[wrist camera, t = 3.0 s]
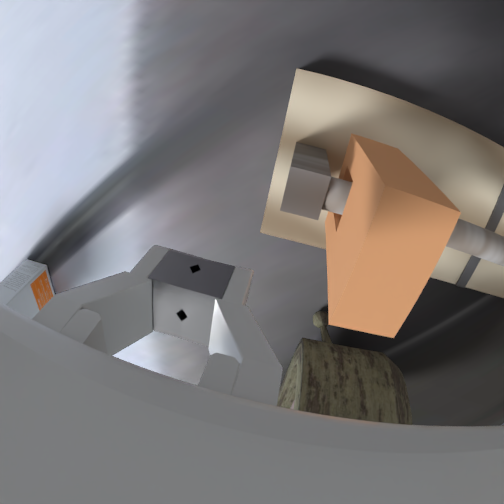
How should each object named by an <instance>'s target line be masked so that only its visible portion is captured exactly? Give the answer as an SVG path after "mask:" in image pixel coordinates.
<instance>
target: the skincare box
mask: <svg viewBox="0 0 504 504" xmlns="http://www.w3.org/2000/svg"><path fill="white" fill-rule="evenodd" d="M54 295H55V293H54V289H53V286H52V283H51V279H50V275H49V272H48V268H47V265H45V264H42V263H38V262H35V261H32V260H28V259H26V260H25V261H24V262H22V263H21V264H20V265H19V266H18V267H17V268H16V269H15V270H14V271H12V272H11V273H10V274H9V275H8V276H7V277H6V278H5V279H4V280H3V281H2V282H1V283H0V302H1V303H3V304H5V305H6V306H8V307H10V308H12V309H14V310H15V311H17V312H19V313H21V314H23V315H25V316H27V317H28V318H30V319H32V318H33V317H34V316H35V315H36V314H37V313H38V312H39V311H40V310H41V309H42V308H43V307H44V306H45V305H46V303H47V302H48V301H49V300H50V299H51V298H52V297H53V296H54Z"/></svg>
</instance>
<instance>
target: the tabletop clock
mask: <svg viewBox="0 0 504 504" xmlns="http://www.w3.org/2000/svg"><path fill="white" fill-rule="evenodd" d="M313 324H314V325H315V326H317V327H318V328H321V335H322V342H321V341H316V340H311V339H306V338H302V339H301V341H300V342H299V344H298V346H297V348H296V351H295V353H294V355H293V357H292V360H291V362H290V364H289V367H288V369H287V371H286V374H285V376H284V379H283V382H282V384H281V387H280V389H279V395H278V401H277V406H279V407H284V408H288V409H294V410H299V411H304V412H310V413H315V414H321V415H328V416H334V417H341V418H348V419H356V420H364V421H373V422H382V423H393V424H406V425H412V416H411V409H410V404H409V399H408V394H407V389H406V384H405V380H404V377H403V375H402V372H401V371H400V369H399V367H398V366H397V365H396V364H395V363H393V362H392V361H391V360H390V359H389V358H388V357H387V356H386V355H385V354H384V353H382V352H376V351H370V350H364V349H358V348H353V347H347V346H342V345H336V344H332V342H331V339H330V336H329V334H328V331H327V328H326V326H327V325H328V324H329V322H328V313H327V312H325V311H318V312H316V313H315V314H314V316H313Z"/></svg>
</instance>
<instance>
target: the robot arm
mask: <svg viewBox="0 0 504 504" xmlns="http://www.w3.org/2000/svg"><path fill="white" fill-rule="evenodd" d="M252 277H253V270H251V269H246V268H242V267H237V266H236V267H235V266H232V265H228V264H223V263H219V262H215V261H211V260H207V259H203V258H201V257H197V256H194V255H190V254H187V253H183V252H180V251H176V250H173V249H170V248H166V247H162V246H158V245H154V246H152V248H151V249H150V250H149V251H148V252H147V253H146V254H145V255H144V257H143V258H142V259H141V260H140V261H139V262H138V264H137V265H136V266H135V267H134V268H133V269H132V270H131V272H130V273H129V272H122V273H119V274H116V275H113V276H109V277H106V278H103V279H100V280H97V281H94V282H91V283H88V284H85V285H82V286H79V287H76V288H73V289H70V290H67V291H64V292H61V293H58V294H55V295H54V296H53V297H52V298H51V299H50V300H49V301H48V302H47V303H46V305H45V306H44V307H43V308H42V309H41V310H40V311H39V312H38V313H37V314H36V315H35V316H34V317H33V318H32V319H30V318H28V317H27V316H25V315H23V314H21V313H19V312H17V311H15V310H14V309H12V308H10V307H8V306H6V305H5V304H3V303H1V302H0V504H504V425H500V426H423V425H406V424H393V423H382V422H373V421H364V420H356V419H348V418H341V417H334V416H328V415H321V414H315V413H310V412H304V411H299V410H294V409H288V408H284V407H279V406H277V401H278V395H279V389H280V382H281V376H282V369H283V368H282V366H281V364H280V363H279V361H278V359H277V357H276V356H275V354H274V352H273V350H272V349H271V347H270V345H269V343H268V342H267V340H266V338H265V336H264V334H263V333H262V331H261V329H260V327H259V326H258V324H257V322H256V320H255V318H254V317H253V315H252V313H251V311H250V309H249V308H248V306H246V303H247V299H248V294H249V290H250V286H251V281H252ZM153 330H154V331H157V332H161V333H164V334H168V335H171V336H175V337H178V338H181V339H184V340H187V341H190V342H193V343H197V344H200V345H203V346H206V347H209V352H210V357H209V359H208V362H207V364H206V367H205V369H204V372H203V374H202V377H201V379H200V382H199V384H198V386H197V385H193V384H190V383H187V382H184V381H181V380H178V379H174V378H171V377H168V376H165V375H162V374H159V373H157V372H154V371H151V370H148V369H145V368H142V367H140V366H137V365H134V364H132V363H129V362H126V361H124V360H121V359H119V358H116V357H114V356H112V355H114V354H116V353H117V352H119V351H121V350H122V349H124V348H126V347H128V346H129V345H131V344H133V343H134V342H136V341H138V340H139V339H141V338H143V337H145V336H146V335H148V334H150V333H151V332H153Z"/></svg>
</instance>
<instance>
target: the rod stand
mask: <svg viewBox="0 0 504 504" xmlns="http://www.w3.org/2000/svg"><path fill="white" fill-rule="evenodd" d="M351 133H352V134H355V135H358V136H362V137H365V138H368V139H371V140H374V141H377V142H380V143H383V144H386V145H389V146H392V147H395V148H398V149H399V150H400V151H401V152H402V153H403V154H404V155H406V156H407V157H408V158H409V159H410V160H411V161H412V162H413V163H414V164H415V165H416V166H417V167H418V168H419V169H420V170H421V171H422V172H423V173H424V174H425V175H426V176H427V177H428V178H429V179H430V180H431V181H432V182H433V183H434V184H435V185H436V186H437V187H438V188H439V189H440V190H441V191H442V192H443V193H444V194H445V195H446V196H447V198H448V199H449V200H450V201H451V202H452V203H453V204H454V205H455V206H456V207H457V209H458V210H459V211H460V212H461V214H460V216H459V219H458V221H457V223H456V225H455V228H454V230H453V232H452V234H451V236H450V238H449V240H448V242H447V244H446V247H445V249H444V251H443V253H442V255H441V257H440V259H439V261H438V262H437V264H436V266H435V268H434V270H433V272H432V274H431V276H430V277H431V278H435V279H438V280H442V281H445V282H449V283H453V284H455V285H456V286H459V287H462V288H465V287H467V288H470V289H474V290H477V291H481V292H484V293H487V294H491V295H494V296H498V297H501V298H504V147H502V146H500V145H499V144H497V143H495V142H493V141H491V140H490V139H488V138H486V137H484V136H482V135H480V134H478V133H476V132H474V131H472V130H470V129H468V128H466V127H464V126H462V125H460V124H458V123H456V122H454V121H452V120H449V119H447V118H445V117H443V116H441V115H438V114H436V113H434V112H431V111H429V110H427V109H424V108H422V107H419V106H417V105H414V104H412V103H409V102H407V101H404V100H401V99H399V98H396V97H393V96H390V95H388V94H385V93H382V92H379V91H376V90H373V89H370V88H367V87H364V86H361V85H357V84H354V83H351V82H347V81H344V80H341V79H337V78H333V77H330V76H326V75H322V74H318V73H314V72H310V71H306V70H302V69H296V74H295V78H294V83H293V87H292V92H291V96H290V101H289V105H288V110H287V114H286V119H285V123H284V128H283V132H282V137H281V141H280V146H279V150H278V155H277V159H276V164H275V168H274V173H273V177H272V182H271V186H270V191H269V195H268V200H267V204H266V209H265V213H264V217H263V222H262V226H261V231H260V233H264V234H268V235H272V236H276V237H280V238H284V239H288V240H292V241H296V242H300V243H304V244H307V245H311V246H315V247H319V248H323V249H326V233H325V220H326V217H327V214H328V211H330V212H333V213H337V214H341V215H342V214H343V211H344V208H345V205H346V202H347V198H348V195H349V192H350V189H351V186H352V183H353V182H349V181H346V180H342V179H339V175H340V172H341V168H342V165H343V161H344V158H345V154H346V151H347V147H348V144H349V140H350V137H351Z"/></svg>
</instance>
